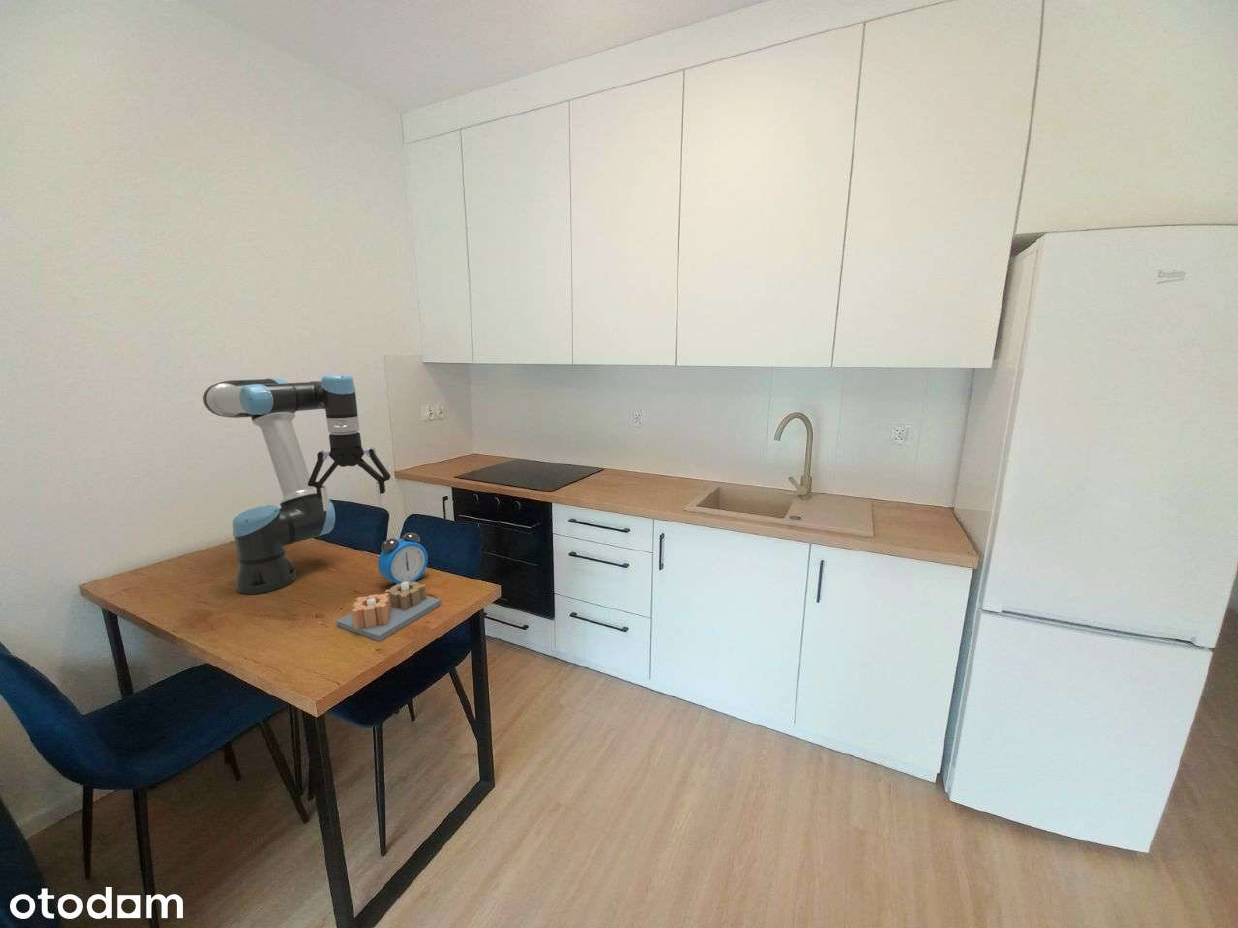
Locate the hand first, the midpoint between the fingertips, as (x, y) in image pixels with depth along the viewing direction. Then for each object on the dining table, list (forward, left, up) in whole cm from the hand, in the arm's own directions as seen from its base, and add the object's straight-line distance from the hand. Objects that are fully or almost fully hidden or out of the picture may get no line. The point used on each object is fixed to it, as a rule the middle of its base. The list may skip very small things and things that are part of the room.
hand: (353, 507), depth 138 cm
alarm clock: (+4, +11, -27) cm, 29 cm away
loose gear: (+17, -10, -25) cm, 32 cm away
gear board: (+17, -5, -27) cm, 32 cm away
